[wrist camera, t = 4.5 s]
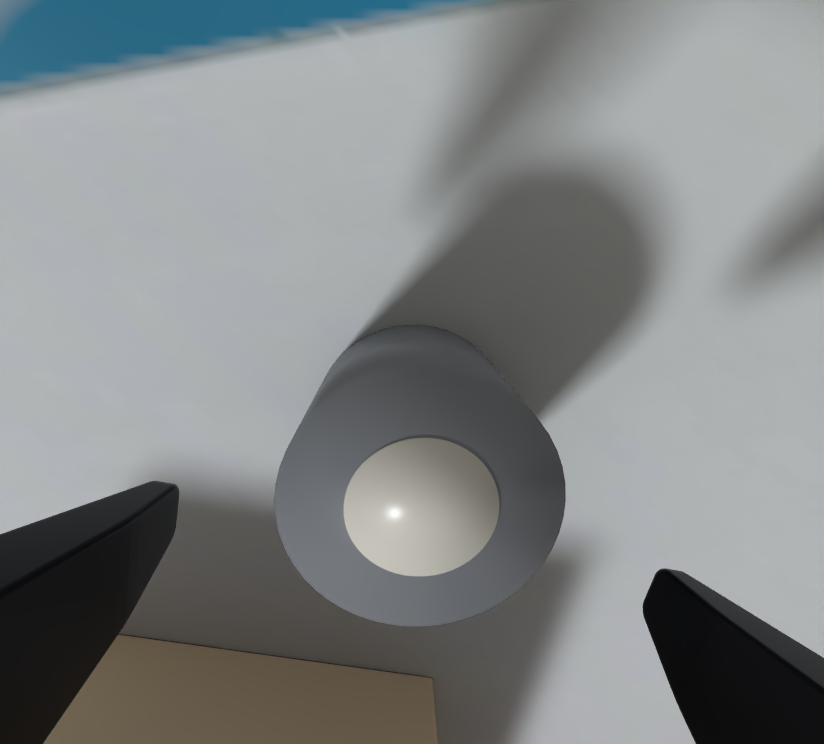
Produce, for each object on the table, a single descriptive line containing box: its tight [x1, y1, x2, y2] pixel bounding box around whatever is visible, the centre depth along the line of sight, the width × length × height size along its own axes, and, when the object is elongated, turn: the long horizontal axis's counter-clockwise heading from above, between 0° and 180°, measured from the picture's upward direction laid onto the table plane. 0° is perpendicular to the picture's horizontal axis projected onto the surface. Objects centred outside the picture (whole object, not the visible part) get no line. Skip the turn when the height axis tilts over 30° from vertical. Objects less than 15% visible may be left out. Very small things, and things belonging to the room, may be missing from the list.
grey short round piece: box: [274, 325, 565, 627], centre depth 12 cm, size 6×6×5 cm
